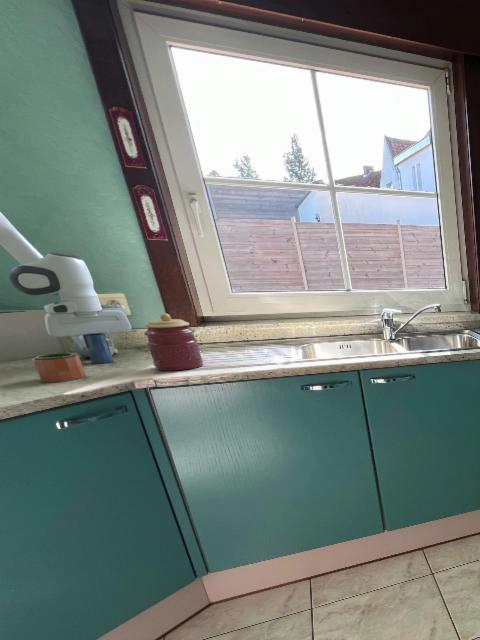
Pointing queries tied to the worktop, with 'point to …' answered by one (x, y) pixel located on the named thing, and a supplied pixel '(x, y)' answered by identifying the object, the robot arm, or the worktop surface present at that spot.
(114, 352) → the ceramic mug
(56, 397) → the worktop surface
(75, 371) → the orange faceted bowl
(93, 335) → the dark blue cylinder
